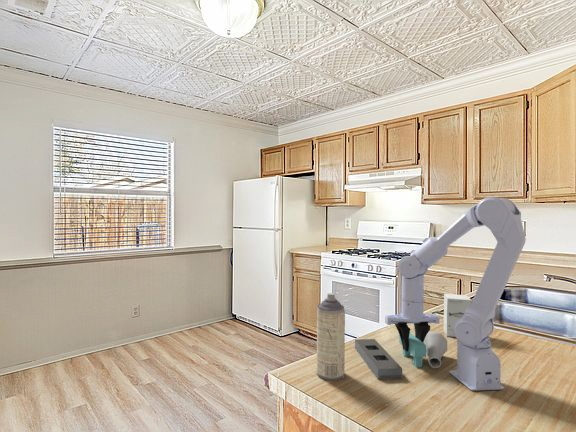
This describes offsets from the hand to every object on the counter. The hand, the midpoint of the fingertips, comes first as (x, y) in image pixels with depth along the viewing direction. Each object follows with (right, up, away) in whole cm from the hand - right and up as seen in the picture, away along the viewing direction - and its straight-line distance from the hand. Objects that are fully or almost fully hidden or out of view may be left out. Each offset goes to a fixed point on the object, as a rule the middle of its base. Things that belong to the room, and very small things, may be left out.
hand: (411, 349), depth 98 cm
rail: (-10, -3, -1) cm, 10 cm away
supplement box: (+22, -3, +21) cm, 31 cm away
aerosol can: (-23, -3, -8) cm, 25 cm away
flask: (+8, +1, +4) cm, 9 cm away
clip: (0, -3, 0) cm, 3 cm away
